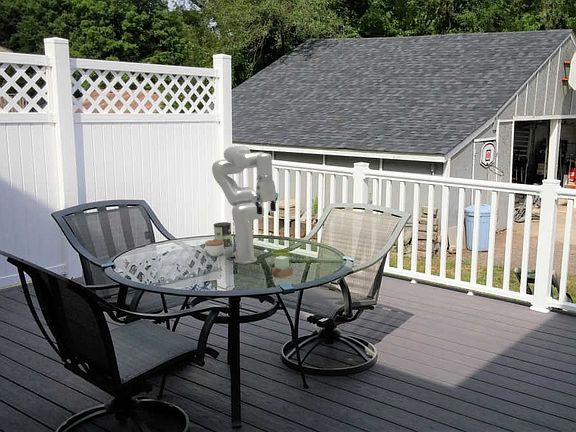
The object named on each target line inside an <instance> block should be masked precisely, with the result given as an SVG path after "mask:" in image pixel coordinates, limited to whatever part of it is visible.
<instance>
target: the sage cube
mask: <svg viewBox="0 0 576 432" xmlns="http://www.w3.org/2000/svg"><path fill="white" fill-rule="evenodd" d="M273 261H274V267H275V268H278V269H285V268H288V267H289V266H290V257H289V256H288V257H286V256H279V257H275V258H274V257H273Z"/></svg>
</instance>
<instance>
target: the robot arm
mask: <svg viewBox="0 0 576 432" xmlns="http://www.w3.org/2000/svg"><path fill="white" fill-rule="evenodd" d="M272 157H273V156H272V154H271V153H265V152H263V151H258V152H251V150H250V148H249V146H245V145H239V146H238V145H237V146H229V147H227V148H226V149H225V150H224V152H223V158H224V159H219V160H216V161H215V162H213V164H212V166H211V169H212V170H211V171H212V172H211V173H212V176H213V178H214V180H215V181H216V183H217V184H218V185H219V187H220V188H221V190H222V191H223V194H224V196H225V198H226V200H227V202H228V203H229V205H231V206H233V207H232V209H231V214H232V218H233V224H234V234H235V238H234V239H235V251H234V252H233V253H232V256H234V257H235V258H233V262H234V263H235V264H239V265H241V264H242V265H245V264H246V265H248V264H252V263H256V262H257V261H258V258H257V257H256V256H255V249H254V232H253V231H254V230H253V226H252V225H251V224H250V222H249V221H254V220H260V219H262V218H263V217H264V215H265V208H264V205H263V203H267V202H268V203H269V202H270V204H269V205H270V211H271V212H276V211H277V207H276V205H277V201H278V197H279V193H278V192H277V189H276V185H275V184H276V183H275V181H274V180H273V158H272ZM253 168H256V186H255V187H256V188H255V189H256V190H255V189H253V188H252V187H250V186H245V187H240V186H238V184H237V181H236V180H235V179H234V178H232V177H231V176H230V175H237V174H241V173H242V172H243V171H244V170H245V169H253Z"/></svg>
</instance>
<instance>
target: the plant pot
mask: <svg viewBox="0 0 576 432" xmlns="http://www.w3.org/2000/svg"><path fill="white" fill-rule="evenodd" d="M290 252H291V251H290V250H289V249H286V248H285V249H283V248H282V249H281V248H278V249H274V250H272V251H271V254H272V257H273V259H274V258H275V257H279V256H286V257H289V256H290Z"/></svg>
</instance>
